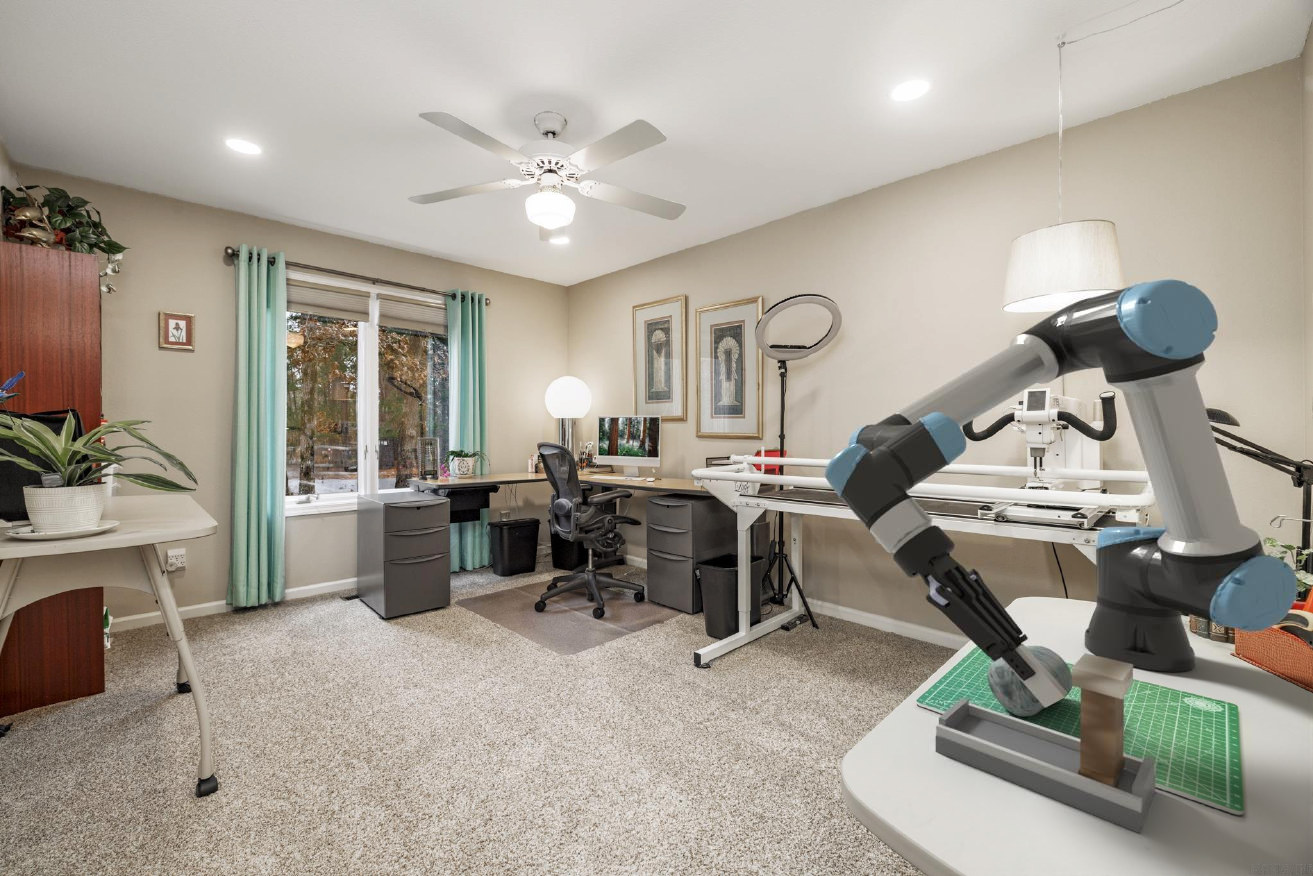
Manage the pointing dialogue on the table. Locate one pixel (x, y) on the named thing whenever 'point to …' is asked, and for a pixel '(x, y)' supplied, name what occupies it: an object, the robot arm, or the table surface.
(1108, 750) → the block
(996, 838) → the table surface
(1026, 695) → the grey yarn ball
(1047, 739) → the gray rectangular tray
